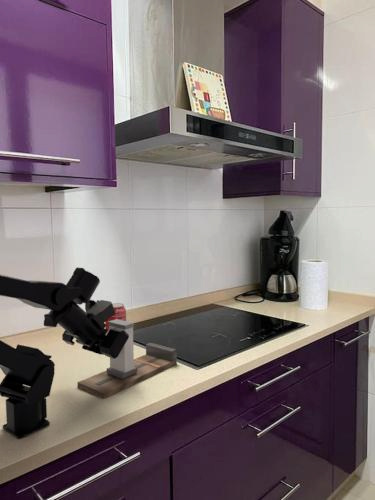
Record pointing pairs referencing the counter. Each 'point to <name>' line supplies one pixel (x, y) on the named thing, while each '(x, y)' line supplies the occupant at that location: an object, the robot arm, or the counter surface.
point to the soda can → (117, 313)
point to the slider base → (146, 367)
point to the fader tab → (123, 352)
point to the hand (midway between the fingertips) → (113, 354)
